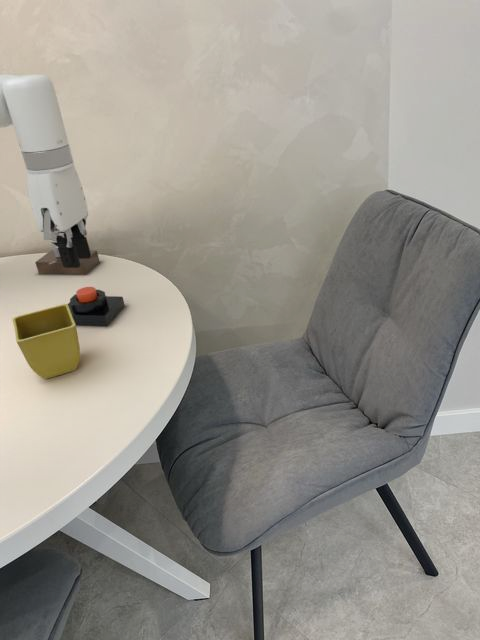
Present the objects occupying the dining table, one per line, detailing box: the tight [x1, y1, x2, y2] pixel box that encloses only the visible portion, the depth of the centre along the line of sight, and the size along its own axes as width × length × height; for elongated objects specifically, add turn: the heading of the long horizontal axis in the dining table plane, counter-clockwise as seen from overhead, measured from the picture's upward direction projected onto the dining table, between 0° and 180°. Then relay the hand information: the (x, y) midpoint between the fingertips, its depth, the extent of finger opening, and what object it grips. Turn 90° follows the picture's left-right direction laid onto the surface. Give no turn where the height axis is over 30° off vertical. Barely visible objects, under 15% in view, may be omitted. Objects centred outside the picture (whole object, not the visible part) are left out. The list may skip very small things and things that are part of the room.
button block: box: [66, 289, 126, 327], centre depth 104 cm, size 10×8×4 cm
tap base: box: [34, 249, 101, 276], centre depth 126 cm, size 12×9×3 cm
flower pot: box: [12, 303, 81, 380], centre depth 88 cm, size 9×9×9 cm
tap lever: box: [50, 233, 73, 257], centre depth 124 cm, size 6×2×5 cm, turn 78°
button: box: [75, 286, 98, 302], centre depth 103 cm, size 4×4×2 cm
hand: (77, 261), depth 100 cm, fingers open, 3 cm apart
